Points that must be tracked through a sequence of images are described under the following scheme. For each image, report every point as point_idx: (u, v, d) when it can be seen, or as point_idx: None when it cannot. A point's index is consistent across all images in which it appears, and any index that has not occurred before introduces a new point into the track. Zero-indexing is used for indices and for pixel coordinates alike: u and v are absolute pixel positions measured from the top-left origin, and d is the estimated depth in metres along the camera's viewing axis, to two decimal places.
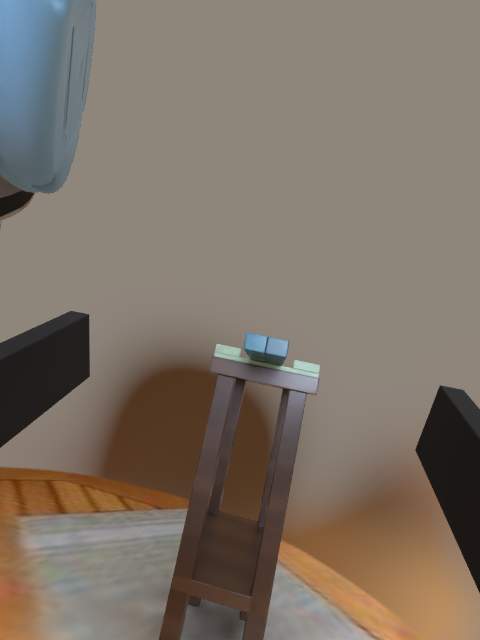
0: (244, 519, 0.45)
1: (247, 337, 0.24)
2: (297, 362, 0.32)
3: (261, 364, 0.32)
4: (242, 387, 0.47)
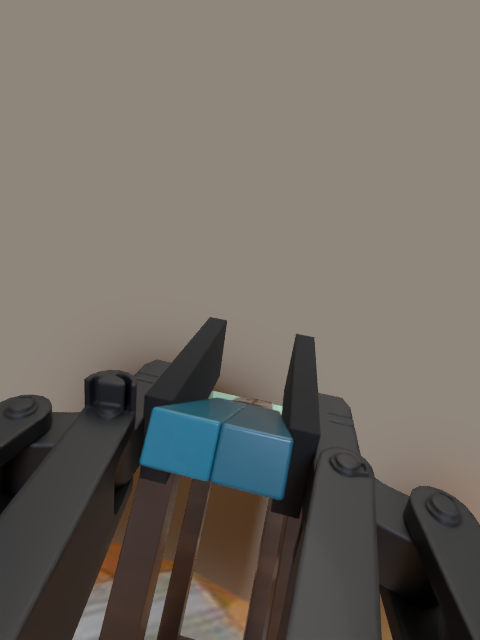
0: None
1: (153, 424, 0.07)
2: None
3: None
4: None
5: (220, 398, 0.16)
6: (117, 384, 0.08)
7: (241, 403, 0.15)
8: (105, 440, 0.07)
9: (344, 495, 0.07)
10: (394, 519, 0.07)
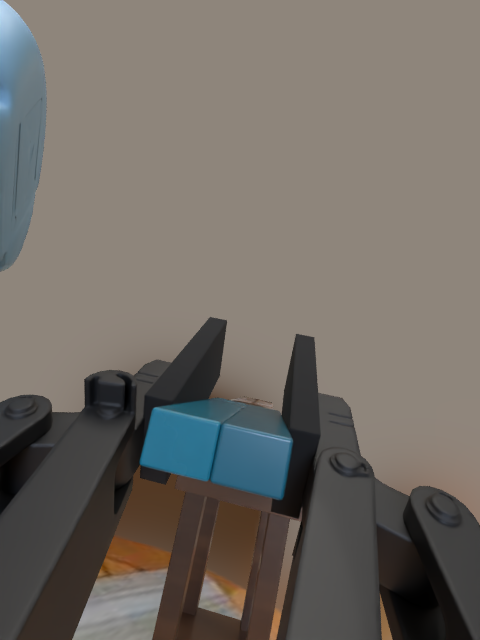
0: (226, 618, 0.40)
1: (153, 424, 0.07)
2: None
3: None
4: None
5: (220, 398, 0.16)
6: (117, 384, 0.08)
7: (241, 403, 0.15)
8: (105, 440, 0.07)
9: (343, 495, 0.07)
10: (394, 519, 0.07)
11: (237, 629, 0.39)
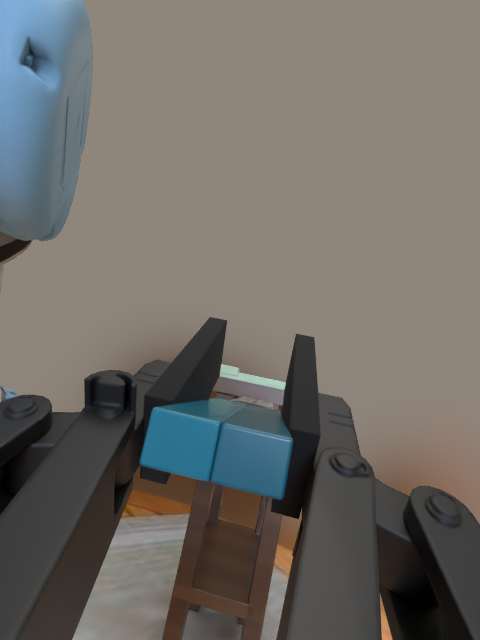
0: (242, 527, 0.47)
1: (153, 424, 0.07)
2: None
3: (258, 383, 0.34)
4: None
5: (220, 398, 0.16)
6: (117, 384, 0.08)
7: (241, 403, 0.15)
8: (105, 440, 0.07)
9: (343, 494, 0.07)
10: (394, 519, 0.07)
11: (252, 533, 0.45)
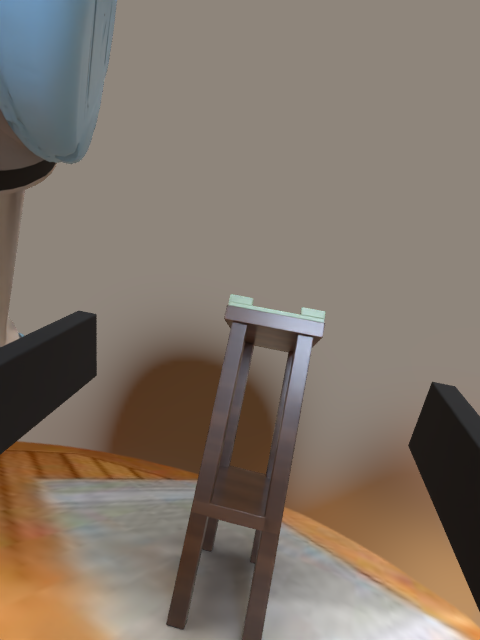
0: (253, 472, 0.48)
1: None
2: (304, 309, 0.35)
3: (272, 311, 0.35)
4: (250, 350, 0.50)
5: None
6: None
7: None
8: None
9: None
10: None
11: (263, 476, 0.47)
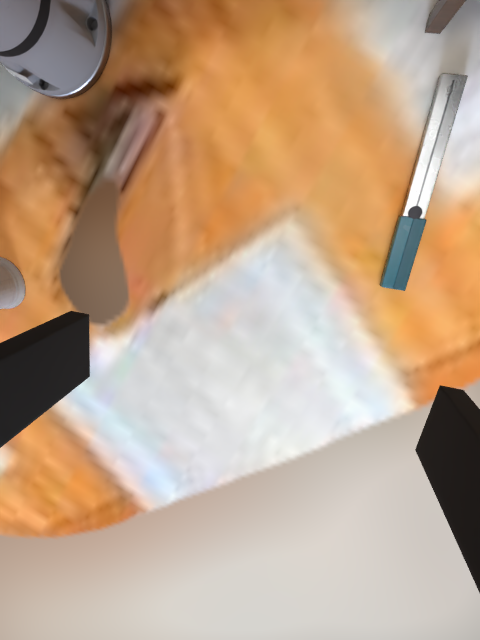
0: None
1: (381, 286, 0.46)
2: None
3: None
4: None
5: (402, 219, 0.42)
6: None
7: (410, 223, 0.42)
8: None
9: None
10: None
11: None
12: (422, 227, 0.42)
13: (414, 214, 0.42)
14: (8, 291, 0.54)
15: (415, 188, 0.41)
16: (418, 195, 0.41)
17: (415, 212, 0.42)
